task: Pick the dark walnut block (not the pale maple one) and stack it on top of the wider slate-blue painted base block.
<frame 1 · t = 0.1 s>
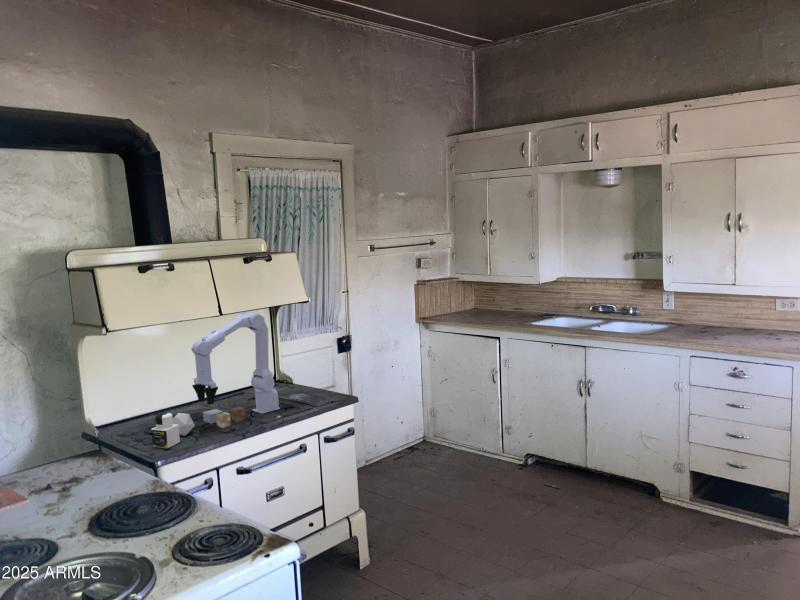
hand: (206, 402, 266), 10 cm above the table, fingers open, 7 cm apart
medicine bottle: (166, 445, 247), on the table
die: (182, 434, 259), on the table
maple block: (223, 425, 267), on the table
walnut block: (238, 420, 274), on the table
base block: (213, 421, 275), on the table
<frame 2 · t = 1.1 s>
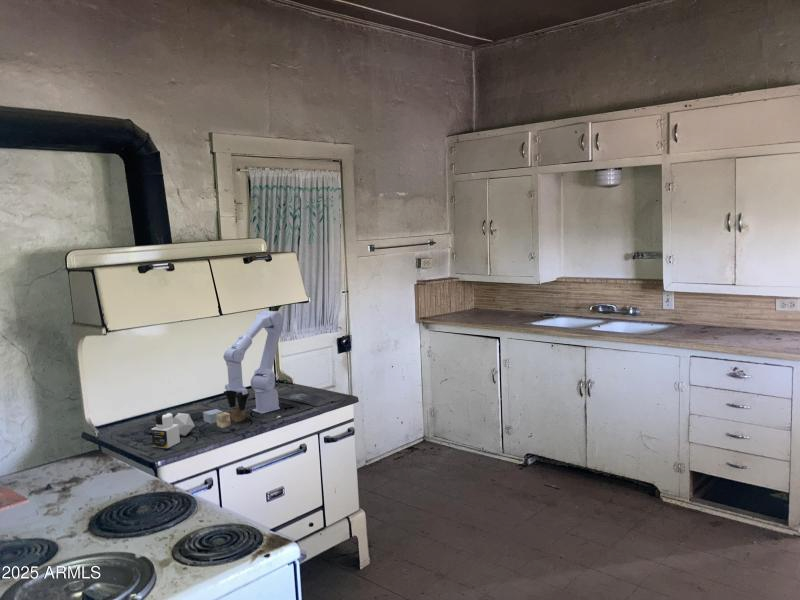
hand: (237, 408, 273), 5 cm above the table, fingers open, 7 cm apart
nothing on the table moved.
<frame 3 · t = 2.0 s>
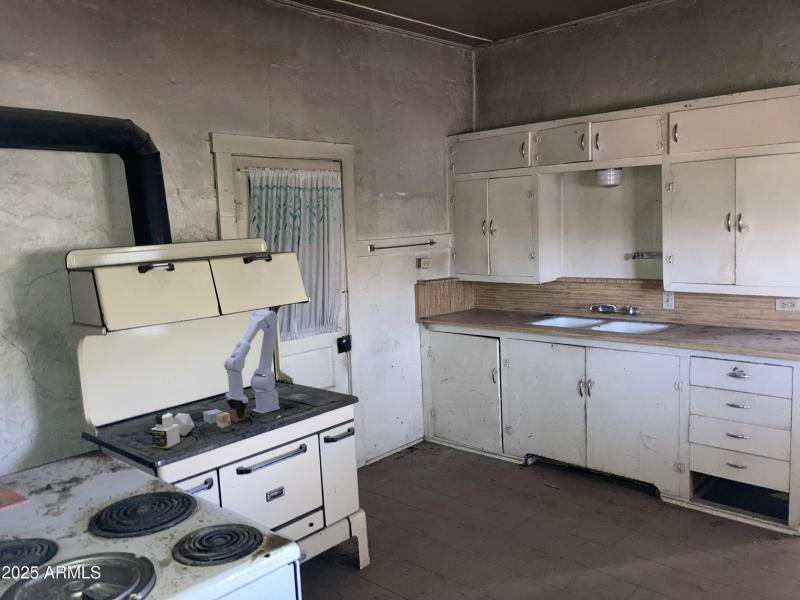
hand: (238, 416, 274), 1 cm above the table, fingers closed on walnut block, 4 cm apart
walnut block: (238, 420, 274), on the table, touching gripper
everything else where it was.
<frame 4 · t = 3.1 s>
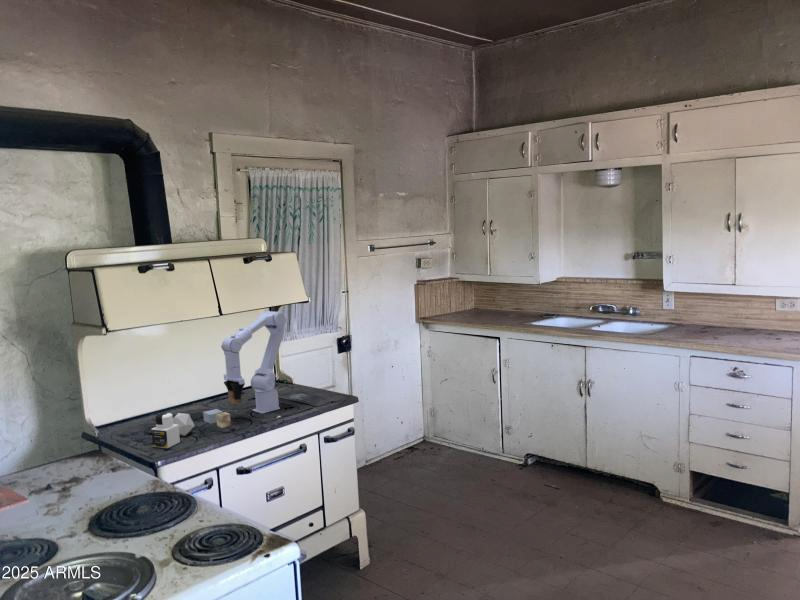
hand: (235, 398, 273), 9 cm above the table, fingers closed on walnut block, 4 cm apart
walnut block: (235, 402, 273), point 8 cm above the table, touching gripper
everything else where it was.
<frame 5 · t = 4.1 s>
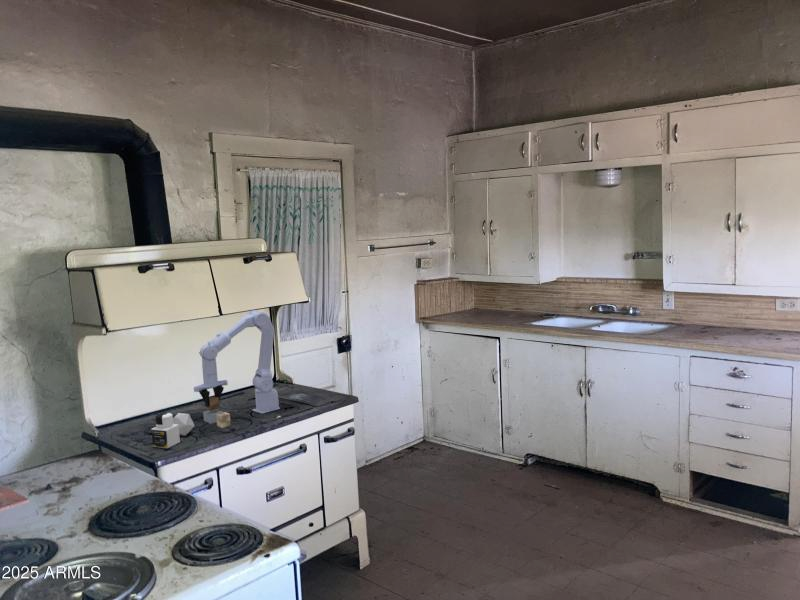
hand: (212, 405, 274), 7 cm above the table, fingers closed on walnut block, 4 cm apart
walnut block: (212, 409, 274), point 5 cm above the table, touching gripper
everything else where it was.
when the fingers open (6 cm above the table, at t = 4.5 s): walnut block stays where it is, resting on base block.
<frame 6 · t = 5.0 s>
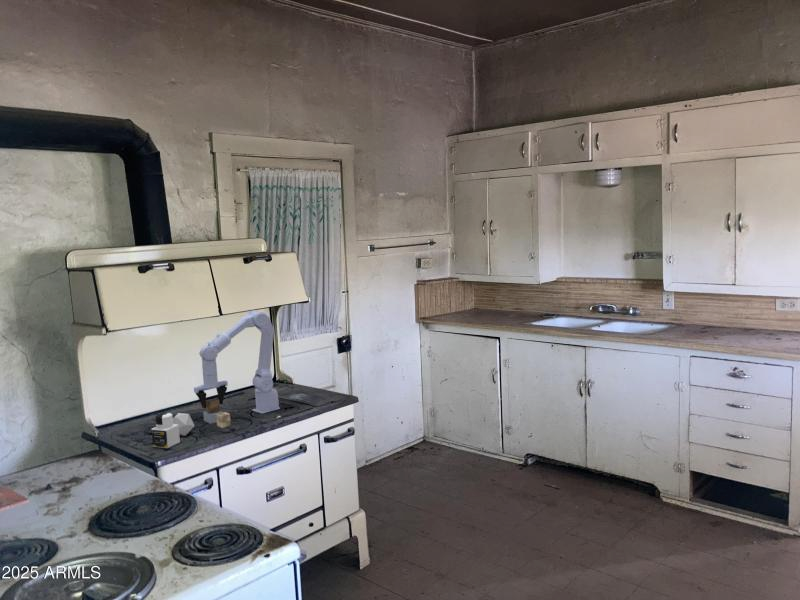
hand: (212, 405, 274), 6 cm above the table, fingers open, 7 cm apart
walnut block: (213, 411, 274), point 4 cm above the table, touching base block
base block: (213, 421, 275), on the table, touching walnut block
everything else where it was.
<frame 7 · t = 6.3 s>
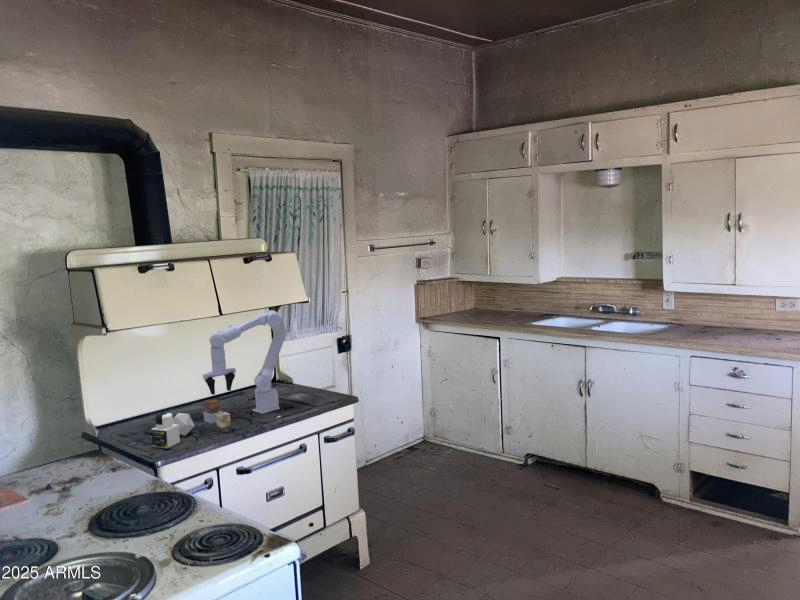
hand: (221, 392, 280), 10 cm above the table, fingers open, 7 cm apart
walnut block: (212, 412, 274), point 4 cm above the table
base block: (213, 421, 275), on the table
everything else where it was.
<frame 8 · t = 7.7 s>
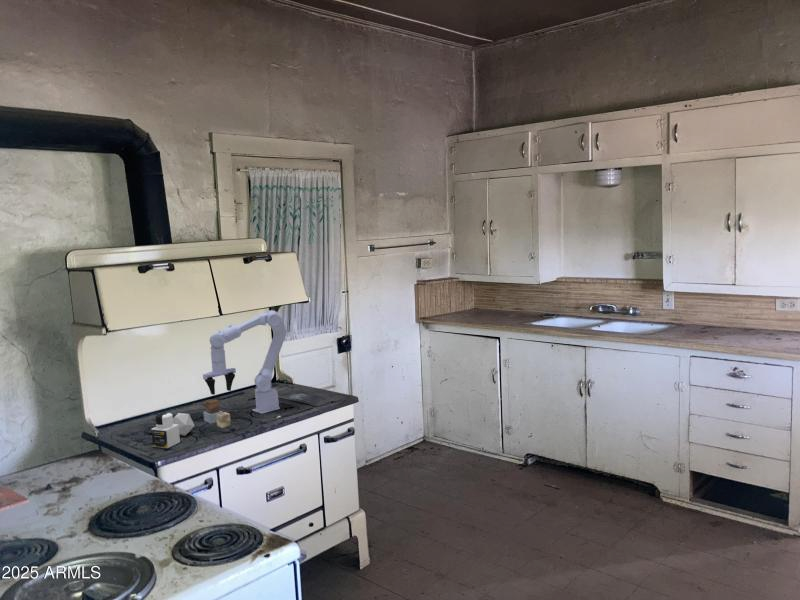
hand: (221, 392, 280), 10 cm above the table, fingers open, 7 cm apart
walnut block: (212, 412, 274), point 4 cm above the table, touching base block
base block: (213, 421, 275), on the table, touching walnut block
everything else where it was.
at the end: walnut block 0.4 cm off-centre on the base block, point 4.0 cm above the base block's base; walnut block tilted 0°; the gripper is holding nothing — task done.
